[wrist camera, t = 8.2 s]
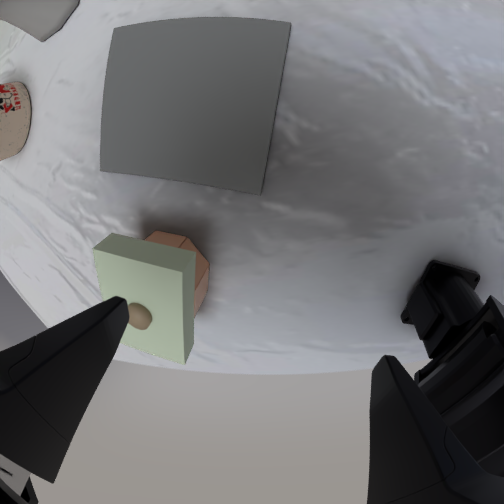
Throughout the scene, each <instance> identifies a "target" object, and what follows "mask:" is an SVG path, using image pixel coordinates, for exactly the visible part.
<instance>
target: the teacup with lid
mask: <svg viewBox="0 0 504 504" xmlns="http://www.w3.org/2000/svg"><path fill="white" fill-rule="evenodd" d="M30 117H31V107H30V99H29V95H28V92H27V90H26V88H25V87H24V85H23V84H21V83H19V82H13V83H6V84H0V161H1V160H4V159H6V158H9V157H11V156H14V155H16V154H17V153H18V152H19V151H20V150H21V149H22V147H23V145H24V143H25V141H26V138H27V135H28V131H29V126H30Z"/></svg>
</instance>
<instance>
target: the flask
mask: <svg viewBox="0 0 504 504" xmlns="http://www.w3.org/2000/svg"><path fill="white" fill-rule="evenodd" d="M77 5H78V0H0V20H4V21H6V22H8V23H10V24H12V25H14V26H16V27H18V28H20V29H22V30H23V31H25V32H26V33H28V34H30V35H31V36H33V37H34V38H36V39H38V40H39V41H41V42H43V41H44V40H46V39H47V38H48V37H50V36H51V35H52V34H54V33H55V32H56V31H58V30H59V29H60V28H61V27H62V25H63V24H64V23H65V21H66V20H67V18H68V17H69V16H70V14H71V13H72V11H73V10H74V9H75V7H76V6H77Z"/></svg>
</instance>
